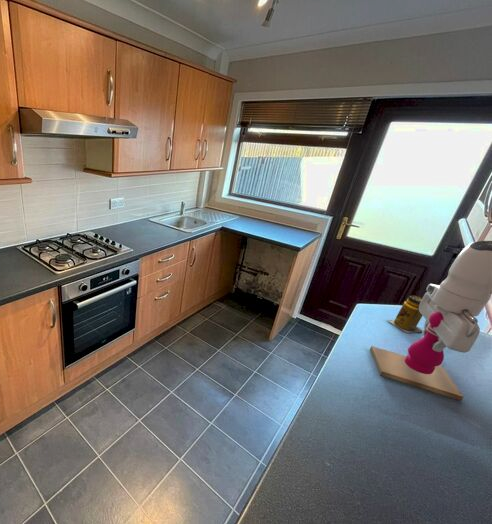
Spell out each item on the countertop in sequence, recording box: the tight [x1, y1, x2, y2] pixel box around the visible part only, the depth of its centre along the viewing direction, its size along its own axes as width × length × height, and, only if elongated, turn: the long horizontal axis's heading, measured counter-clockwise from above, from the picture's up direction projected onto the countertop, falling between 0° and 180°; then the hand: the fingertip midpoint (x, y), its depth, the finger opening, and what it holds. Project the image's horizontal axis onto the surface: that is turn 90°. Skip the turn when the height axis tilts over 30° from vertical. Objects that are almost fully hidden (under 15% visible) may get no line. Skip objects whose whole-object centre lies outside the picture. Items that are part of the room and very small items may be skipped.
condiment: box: [387, 295, 424, 334], centre depth 102 cm, size 7×8×12 cm
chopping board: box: [369, 345, 464, 401], centre depth 83 cm, size 18×12×2 cm, turn 65°
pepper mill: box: [404, 312, 445, 374], centre depth 77 cm, size 7×7×20 cm
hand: (430, 342), depth 78 cm, fingers closed on pepper mill, 5 cm apart
